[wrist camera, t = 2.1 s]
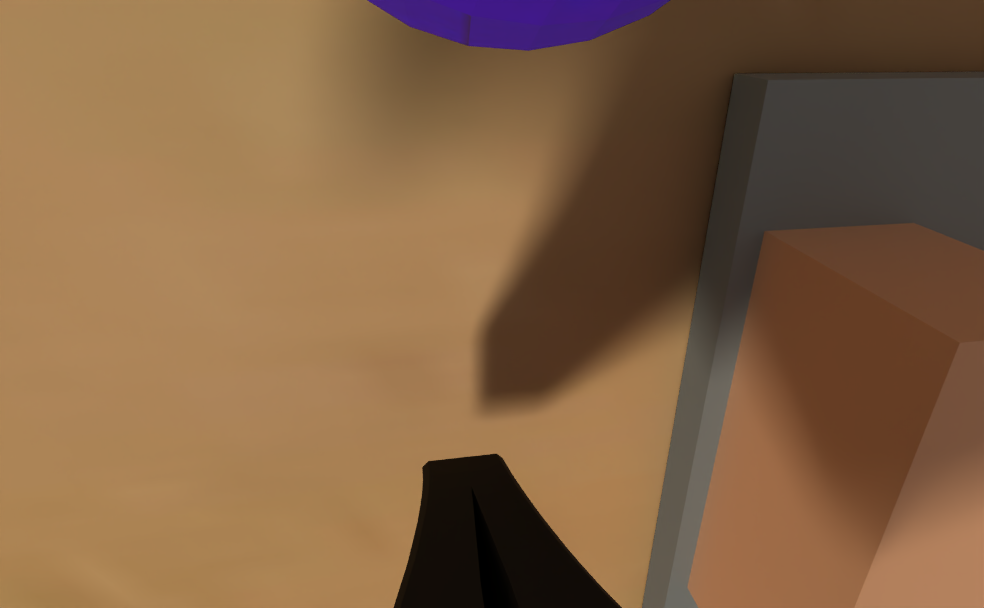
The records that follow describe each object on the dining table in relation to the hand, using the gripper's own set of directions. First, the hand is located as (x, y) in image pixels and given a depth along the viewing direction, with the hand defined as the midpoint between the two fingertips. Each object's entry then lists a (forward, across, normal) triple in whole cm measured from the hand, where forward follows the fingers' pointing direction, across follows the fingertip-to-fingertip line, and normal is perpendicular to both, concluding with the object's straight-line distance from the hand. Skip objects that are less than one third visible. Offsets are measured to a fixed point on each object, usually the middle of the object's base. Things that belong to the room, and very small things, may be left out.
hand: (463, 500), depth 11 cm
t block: (+1, -10, 0) cm, 10 cm away
